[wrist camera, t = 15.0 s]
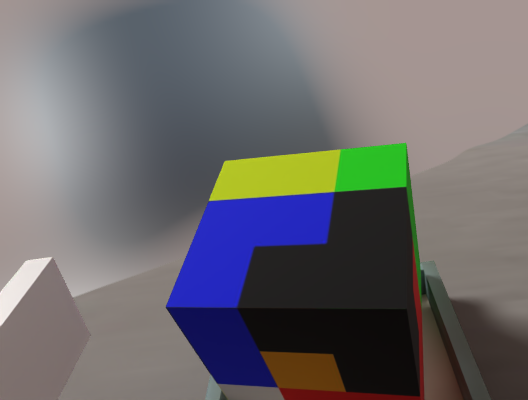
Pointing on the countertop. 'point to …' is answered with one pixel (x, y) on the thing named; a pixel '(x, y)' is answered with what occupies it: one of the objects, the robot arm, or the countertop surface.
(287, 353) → the puzzle toy
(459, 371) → the shallow tray
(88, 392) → the countertop surface
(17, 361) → the robot arm
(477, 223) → the countertop surface
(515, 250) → the countertop surface
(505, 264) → the countertop surface
